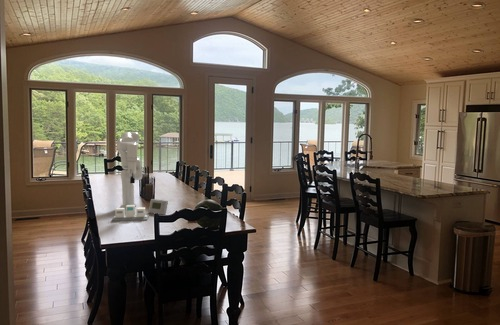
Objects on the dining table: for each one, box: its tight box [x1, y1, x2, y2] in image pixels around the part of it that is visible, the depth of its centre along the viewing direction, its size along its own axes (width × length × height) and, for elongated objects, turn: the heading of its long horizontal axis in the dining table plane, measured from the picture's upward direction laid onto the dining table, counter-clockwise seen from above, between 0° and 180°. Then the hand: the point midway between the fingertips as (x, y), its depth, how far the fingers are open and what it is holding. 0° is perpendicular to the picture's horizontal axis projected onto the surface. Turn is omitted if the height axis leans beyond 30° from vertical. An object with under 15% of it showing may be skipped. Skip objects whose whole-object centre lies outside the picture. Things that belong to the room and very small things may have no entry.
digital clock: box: [148, 198, 169, 216], centre depth 317 cm, size 16×9×11 cm, turn 55°
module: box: [125, 205, 136, 217], centre depth 299 cm, size 5×6×8 cm
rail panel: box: [111, 206, 150, 222], centre depth 299 cm, size 13×25×8 cm, turn 98°
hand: (132, 183), depth 310 cm, fingers closed
